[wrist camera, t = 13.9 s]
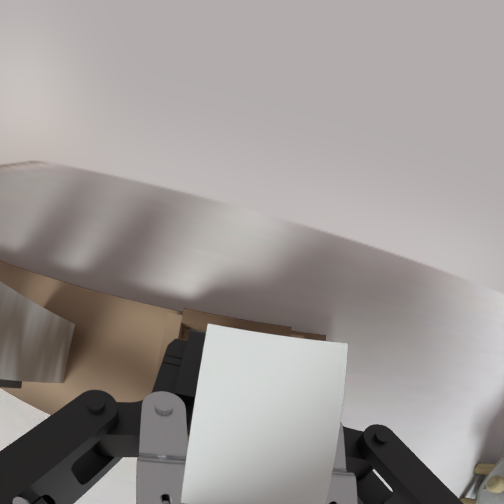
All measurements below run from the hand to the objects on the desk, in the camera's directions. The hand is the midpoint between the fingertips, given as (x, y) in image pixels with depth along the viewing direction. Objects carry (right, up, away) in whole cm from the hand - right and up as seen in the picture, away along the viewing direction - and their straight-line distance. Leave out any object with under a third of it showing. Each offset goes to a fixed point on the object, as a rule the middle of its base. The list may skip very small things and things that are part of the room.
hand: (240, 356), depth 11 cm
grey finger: (-1, -4, +3) cm, 5 cm away
